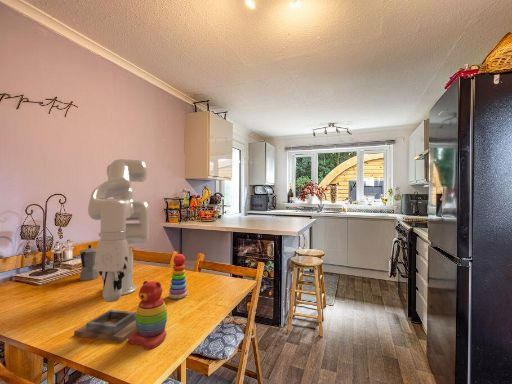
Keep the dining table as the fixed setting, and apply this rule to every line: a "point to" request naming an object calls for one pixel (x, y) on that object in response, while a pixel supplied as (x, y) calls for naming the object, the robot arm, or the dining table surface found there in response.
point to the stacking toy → (178, 279)
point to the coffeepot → (88, 264)
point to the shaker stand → (110, 326)
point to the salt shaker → (111, 289)
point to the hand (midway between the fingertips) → (112, 290)
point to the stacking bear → (150, 317)
